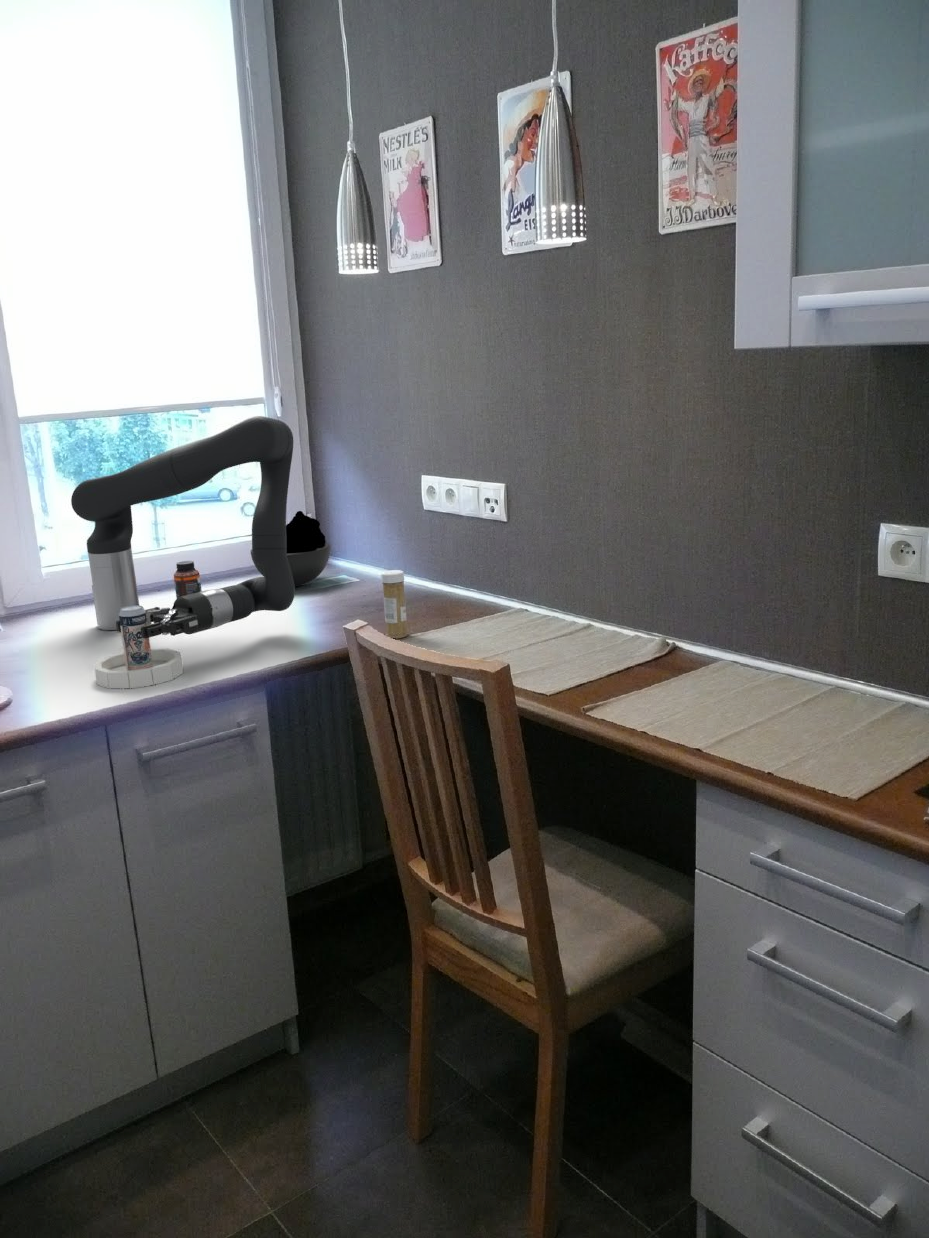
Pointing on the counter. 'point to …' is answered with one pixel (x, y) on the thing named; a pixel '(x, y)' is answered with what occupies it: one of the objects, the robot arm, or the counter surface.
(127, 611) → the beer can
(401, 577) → the sprinkles bottle
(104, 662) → the white segmented ring
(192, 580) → the supplement bottle
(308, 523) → the coal bowl
